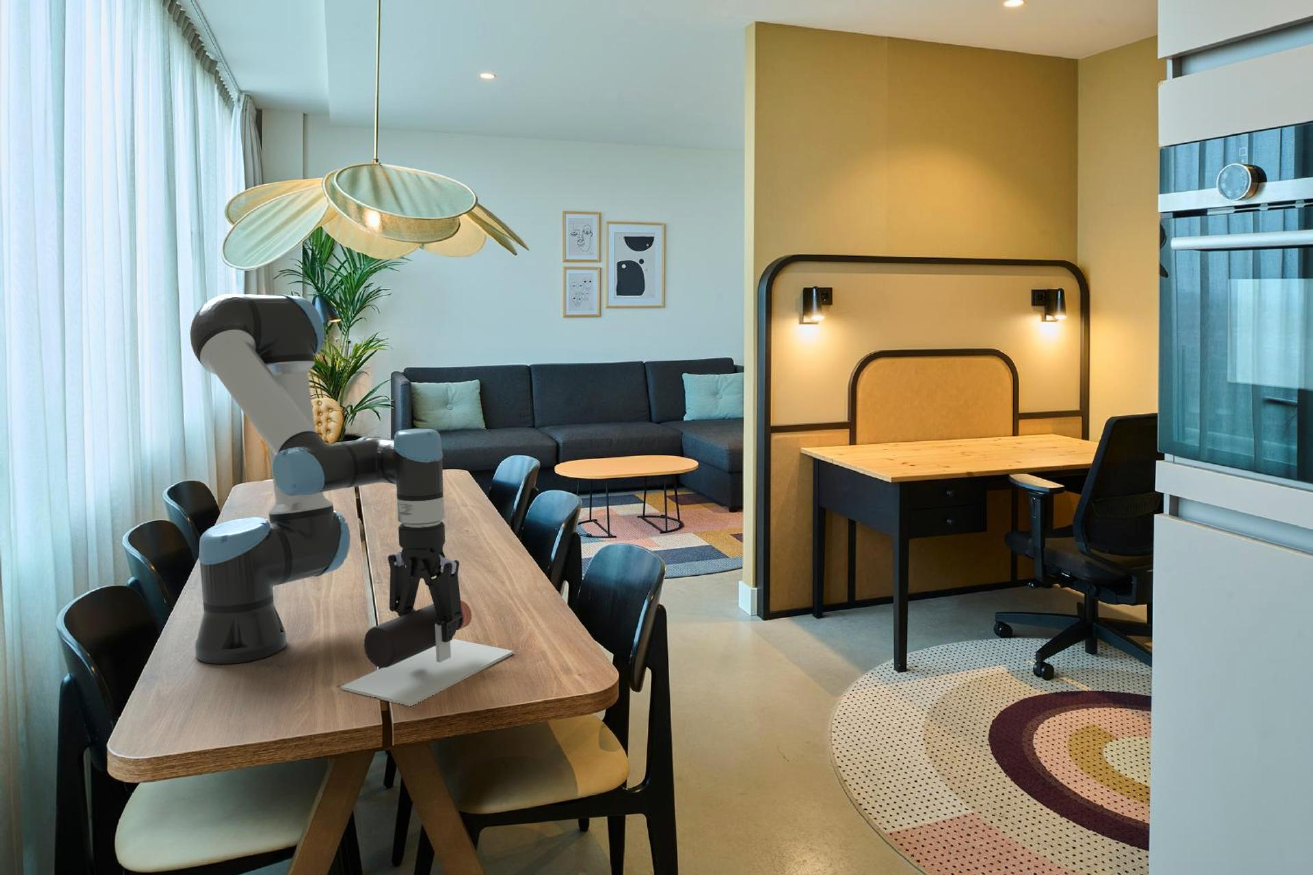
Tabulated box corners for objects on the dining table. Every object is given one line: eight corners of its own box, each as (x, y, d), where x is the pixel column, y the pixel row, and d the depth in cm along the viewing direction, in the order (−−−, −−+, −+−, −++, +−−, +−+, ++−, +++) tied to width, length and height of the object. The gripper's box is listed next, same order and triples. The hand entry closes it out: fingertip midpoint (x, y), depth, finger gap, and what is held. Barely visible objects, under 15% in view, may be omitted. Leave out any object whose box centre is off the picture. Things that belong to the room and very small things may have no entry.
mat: (341, 689, 150) (341, 686, 150) (448, 640, 172) (448, 637, 172) (411, 706, 143) (410, 703, 143) (513, 653, 165) (513, 650, 165)
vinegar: (356, 649, 149) (440, 615, 166) (384, 677, 146) (466, 639, 164) (372, 618, 146) (456, 586, 164) (400, 646, 144) (482, 611, 161)
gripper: (361, 521, 155) (368, 653, 158) (451, 532, 146) (457, 673, 148) (394, 513, 161) (399, 640, 164) (482, 523, 152) (486, 658, 155)
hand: (427, 655), depth 156 cm, fingers closed on vinegar, 6 cm apart
